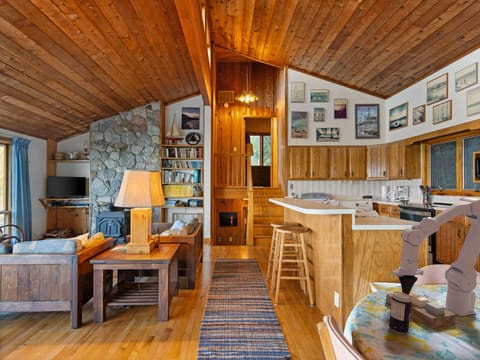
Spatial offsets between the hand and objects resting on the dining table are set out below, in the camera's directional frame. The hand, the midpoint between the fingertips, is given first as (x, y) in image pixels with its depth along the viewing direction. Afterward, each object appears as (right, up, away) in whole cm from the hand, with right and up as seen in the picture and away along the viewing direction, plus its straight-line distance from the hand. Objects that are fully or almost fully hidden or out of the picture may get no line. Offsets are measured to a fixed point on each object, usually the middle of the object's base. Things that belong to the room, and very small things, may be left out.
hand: (405, 293), depth 118 cm
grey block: (+4, -3, -11) cm, 12 cm away
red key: (0, -3, 0) cm, 3 cm away
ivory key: (+2, -2, -5) cm, 6 cm away
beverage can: (-13, -5, -19) cm, 24 cm away
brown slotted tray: (+2, -5, -5) cm, 8 cm away
